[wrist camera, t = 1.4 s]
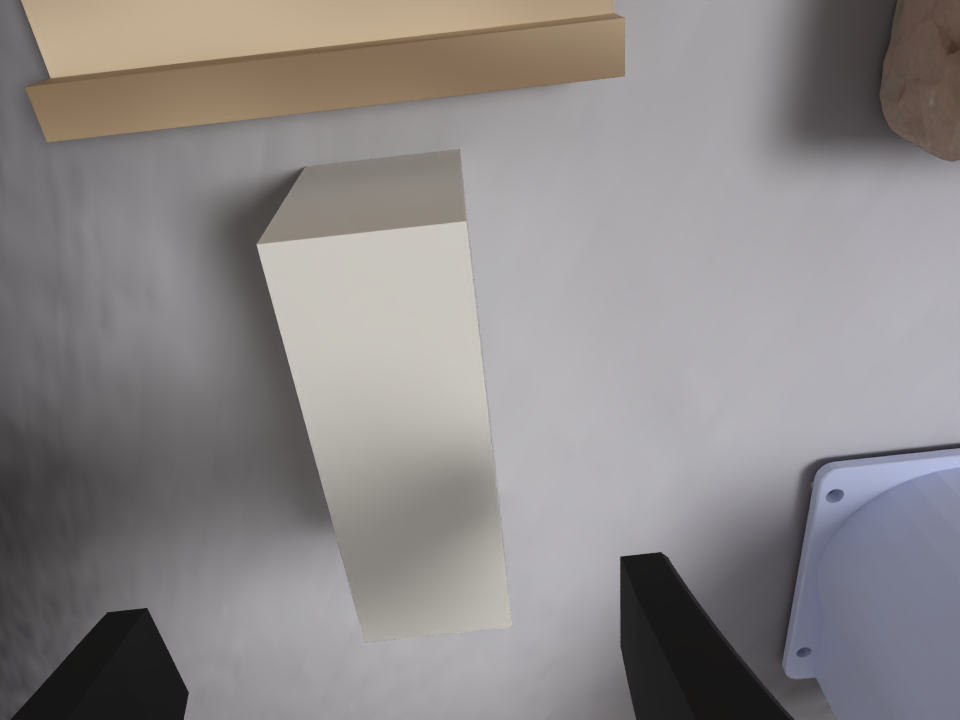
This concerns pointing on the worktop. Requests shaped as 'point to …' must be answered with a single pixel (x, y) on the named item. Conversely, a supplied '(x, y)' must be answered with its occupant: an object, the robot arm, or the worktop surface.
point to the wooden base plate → (299, 56)
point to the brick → (924, 76)
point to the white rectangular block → (394, 387)
